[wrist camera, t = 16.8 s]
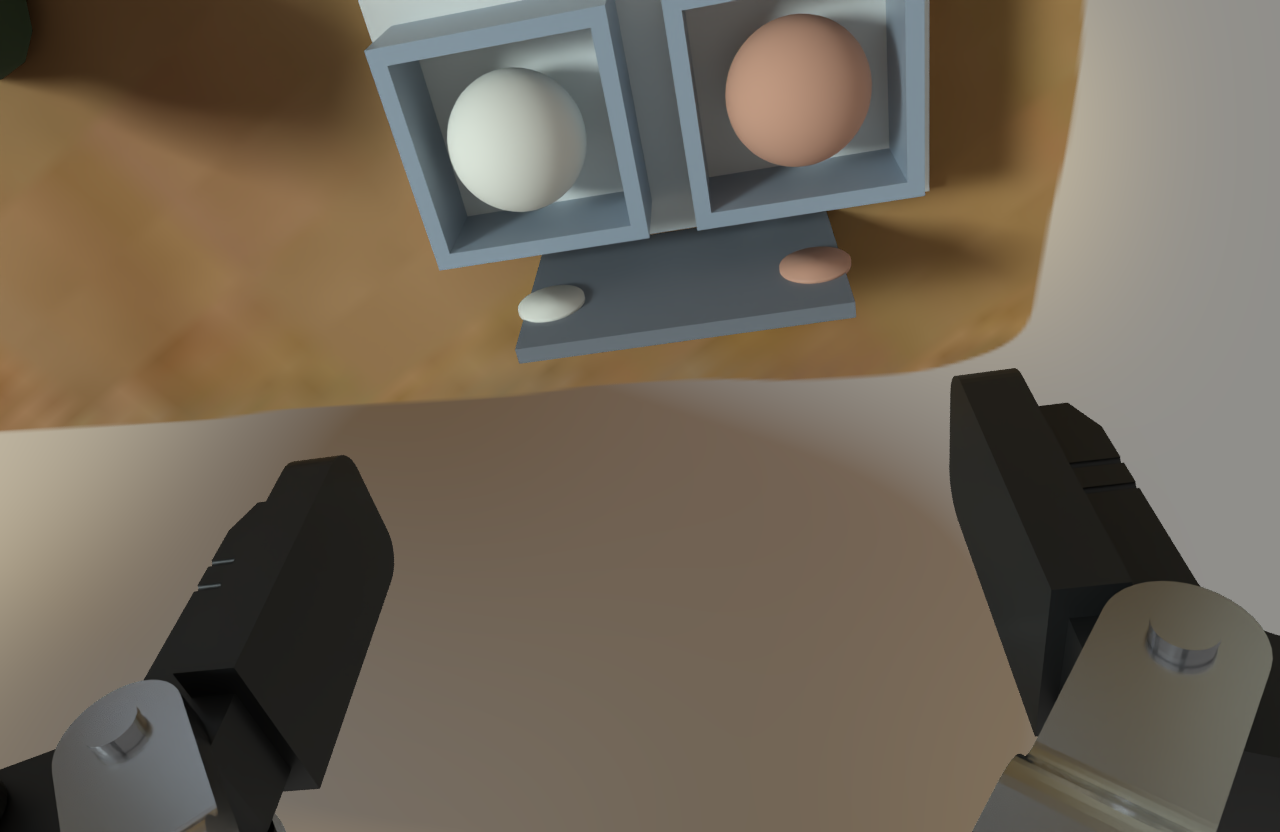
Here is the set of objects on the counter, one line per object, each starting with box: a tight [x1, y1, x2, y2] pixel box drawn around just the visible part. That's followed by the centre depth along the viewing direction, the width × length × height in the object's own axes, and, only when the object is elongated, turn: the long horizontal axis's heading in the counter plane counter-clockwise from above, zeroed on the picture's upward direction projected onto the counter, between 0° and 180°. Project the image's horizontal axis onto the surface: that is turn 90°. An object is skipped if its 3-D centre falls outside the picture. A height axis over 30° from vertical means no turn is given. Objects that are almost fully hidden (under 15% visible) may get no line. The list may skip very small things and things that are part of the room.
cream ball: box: [447, 67, 587, 212], centre depth 33 cm, size 5×5×5 cm
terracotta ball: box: [725, 14, 872, 167], centre depth 31 cm, size 5×5×5 cm
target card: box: [515, 211, 856, 364], centre depth 35 cm, size 1×13×8 cm, turn 101°
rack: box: [358, 0, 929, 270], centre depth 33 cm, size 11×20×4 cm, turn 101°
